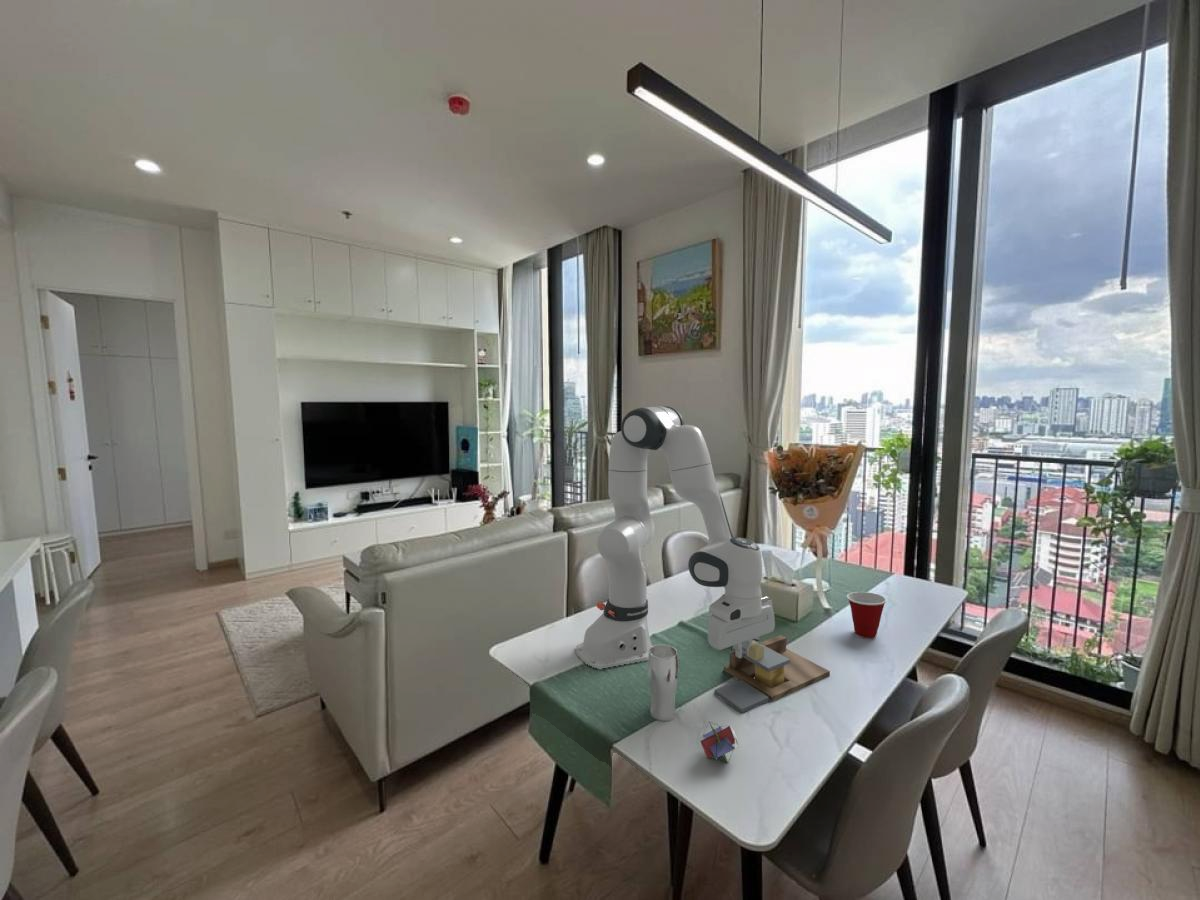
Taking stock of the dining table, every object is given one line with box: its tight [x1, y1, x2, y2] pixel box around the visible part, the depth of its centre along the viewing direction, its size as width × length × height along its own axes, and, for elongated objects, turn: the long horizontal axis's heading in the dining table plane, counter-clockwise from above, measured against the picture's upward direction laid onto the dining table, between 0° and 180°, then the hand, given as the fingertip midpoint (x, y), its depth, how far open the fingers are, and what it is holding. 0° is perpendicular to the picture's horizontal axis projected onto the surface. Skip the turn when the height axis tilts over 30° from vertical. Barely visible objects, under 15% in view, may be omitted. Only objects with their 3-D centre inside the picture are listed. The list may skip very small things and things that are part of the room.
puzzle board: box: [723, 634, 831, 702], centre depth 130 cm, size 22×16×5 cm
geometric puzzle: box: [699, 721, 739, 764], centre depth 99 cm, size 7×7×8 cm
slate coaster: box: [713, 679, 770, 714], centre depth 119 cm, size 9×9×1 cm
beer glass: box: [647, 643, 679, 722], centre depth 113 cm, size 7×7×15 cm
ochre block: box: [754, 665, 785, 688], centre depth 125 cm, size 5×5×5 cm
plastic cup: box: [846, 591, 887, 639], centre depth 151 cm, size 11×11×12 cm
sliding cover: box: [731, 639, 790, 672], centre depth 128 cm, size 8×12×4 cm, turn 30°
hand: (742, 656), depth 124 cm, fingers closed
